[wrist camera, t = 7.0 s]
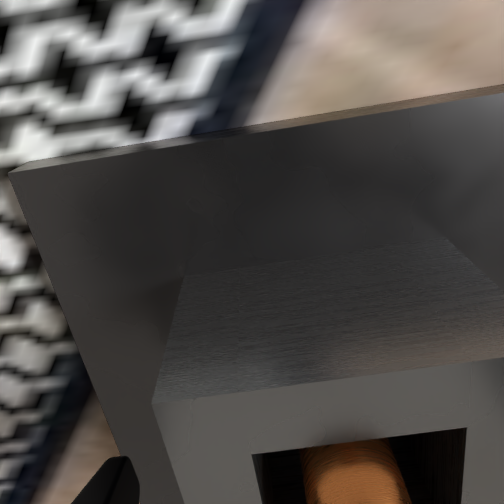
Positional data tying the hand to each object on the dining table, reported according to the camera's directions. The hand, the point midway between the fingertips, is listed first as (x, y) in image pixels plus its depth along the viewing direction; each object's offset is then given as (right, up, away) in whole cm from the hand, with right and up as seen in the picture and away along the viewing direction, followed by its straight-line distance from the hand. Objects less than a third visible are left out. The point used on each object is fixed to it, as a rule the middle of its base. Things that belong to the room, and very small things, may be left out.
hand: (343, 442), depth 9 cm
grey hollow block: (0, +1, +2) cm, 3 cm away
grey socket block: (0, +1, +3) cm, 4 cm away
